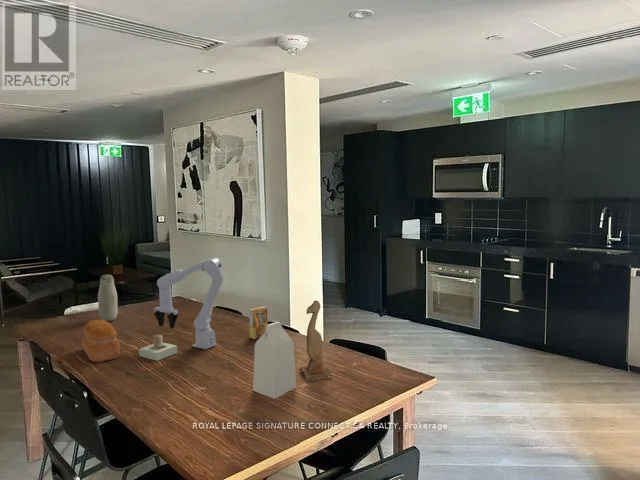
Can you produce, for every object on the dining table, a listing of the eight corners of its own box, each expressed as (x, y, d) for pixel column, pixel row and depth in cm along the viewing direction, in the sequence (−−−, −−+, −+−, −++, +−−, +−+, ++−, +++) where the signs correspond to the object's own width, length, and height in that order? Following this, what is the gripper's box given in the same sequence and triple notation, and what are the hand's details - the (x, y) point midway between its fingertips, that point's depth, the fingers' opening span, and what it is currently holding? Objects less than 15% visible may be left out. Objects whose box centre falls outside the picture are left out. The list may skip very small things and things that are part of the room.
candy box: (263, 334, 250) (263, 306, 248) (268, 336, 247) (267, 307, 245) (249, 337, 244) (248, 308, 243) (253, 339, 241) (252, 310, 239)
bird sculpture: (297, 372, 197) (294, 299, 193) (323, 368, 201) (321, 295, 197) (306, 383, 186) (303, 305, 182) (333, 378, 190) (331, 301, 186)
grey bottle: (95, 322, 275) (93, 275, 273) (108, 317, 285) (105, 272, 282) (109, 323, 273) (107, 276, 270) (121, 319, 282) (119, 273, 279)
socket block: (177, 352, 221) (177, 345, 221) (156, 360, 211) (156, 353, 211) (160, 348, 228) (160, 341, 227) (139, 356, 217) (139, 348, 217)
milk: (275, 380, 188) (274, 317, 185) (296, 388, 180) (295, 322, 178) (253, 390, 178) (251, 324, 176) (274, 398, 171) (273, 329, 169)
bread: (90, 364, 207) (88, 331, 206) (80, 349, 228) (78, 318, 227) (122, 358, 215) (120, 326, 213) (110, 343, 236) (108, 314, 235)
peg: (164, 352, 222) (163, 334, 221) (162, 355, 218) (161, 337, 217) (155, 353, 221) (154, 334, 220) (153, 356, 217) (152, 337, 216)
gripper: (182, 300, 230) (183, 326, 231) (161, 297, 237) (162, 323, 239) (171, 303, 224) (172, 330, 225) (150, 299, 231) (151, 326, 233)
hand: (166, 327), depth 232 cm, fingers open, 7 cm apart
